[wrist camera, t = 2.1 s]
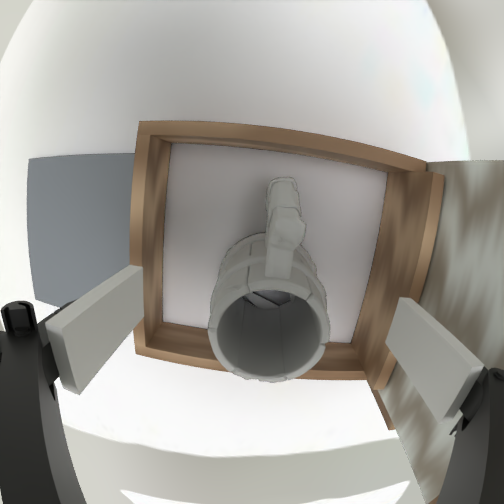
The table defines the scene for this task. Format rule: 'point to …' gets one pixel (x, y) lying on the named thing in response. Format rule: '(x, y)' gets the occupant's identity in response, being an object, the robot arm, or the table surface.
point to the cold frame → (381, 277)
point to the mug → (265, 312)
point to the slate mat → (77, 222)
